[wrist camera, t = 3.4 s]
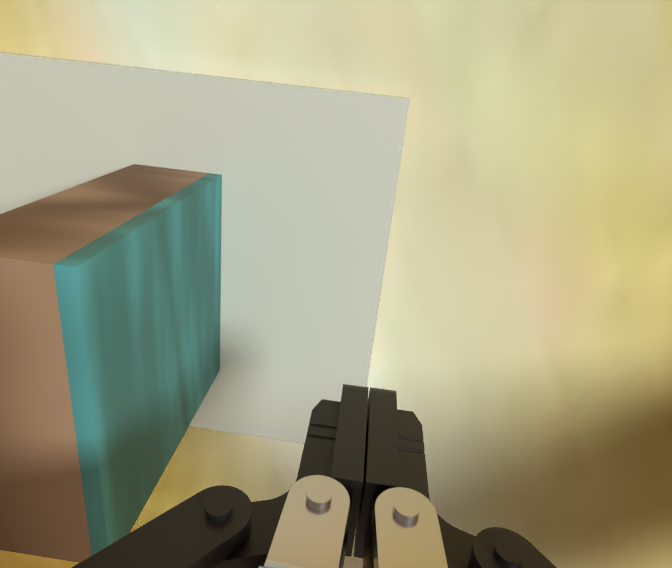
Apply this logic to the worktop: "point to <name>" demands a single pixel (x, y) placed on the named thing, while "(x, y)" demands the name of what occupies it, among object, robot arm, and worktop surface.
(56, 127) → the sage mat
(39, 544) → the teal and brown block
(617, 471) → the worktop surface
